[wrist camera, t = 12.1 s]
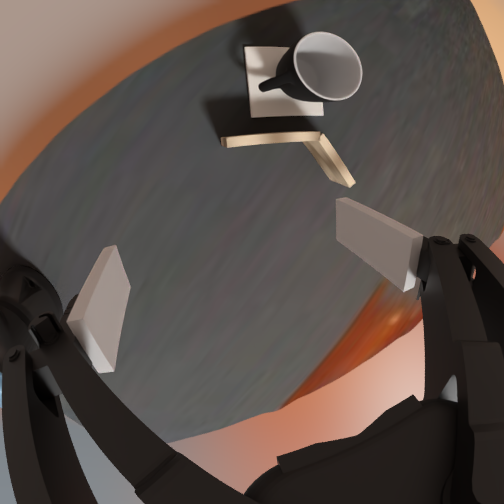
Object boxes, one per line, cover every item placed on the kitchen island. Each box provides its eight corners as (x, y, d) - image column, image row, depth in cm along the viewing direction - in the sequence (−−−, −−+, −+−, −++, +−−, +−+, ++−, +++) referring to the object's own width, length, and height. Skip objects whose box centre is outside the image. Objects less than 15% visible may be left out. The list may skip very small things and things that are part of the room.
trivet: (250, 117, 35) (251, 117, 34) (244, 48, 30) (244, 46, 29) (321, 115, 36) (323, 115, 36) (315, 50, 32) (317, 49, 31)
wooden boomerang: (226, 191, 38) (233, 201, 33) (220, 137, 35) (226, 137, 30) (335, 179, 41) (355, 187, 36) (333, 130, 38) (354, 132, 32)
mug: (310, 46, 31) (345, 27, 22) (332, 97, 35) (372, 91, 26) (237, 67, 30) (254, 45, 21) (262, 122, 35) (288, 118, 26)
